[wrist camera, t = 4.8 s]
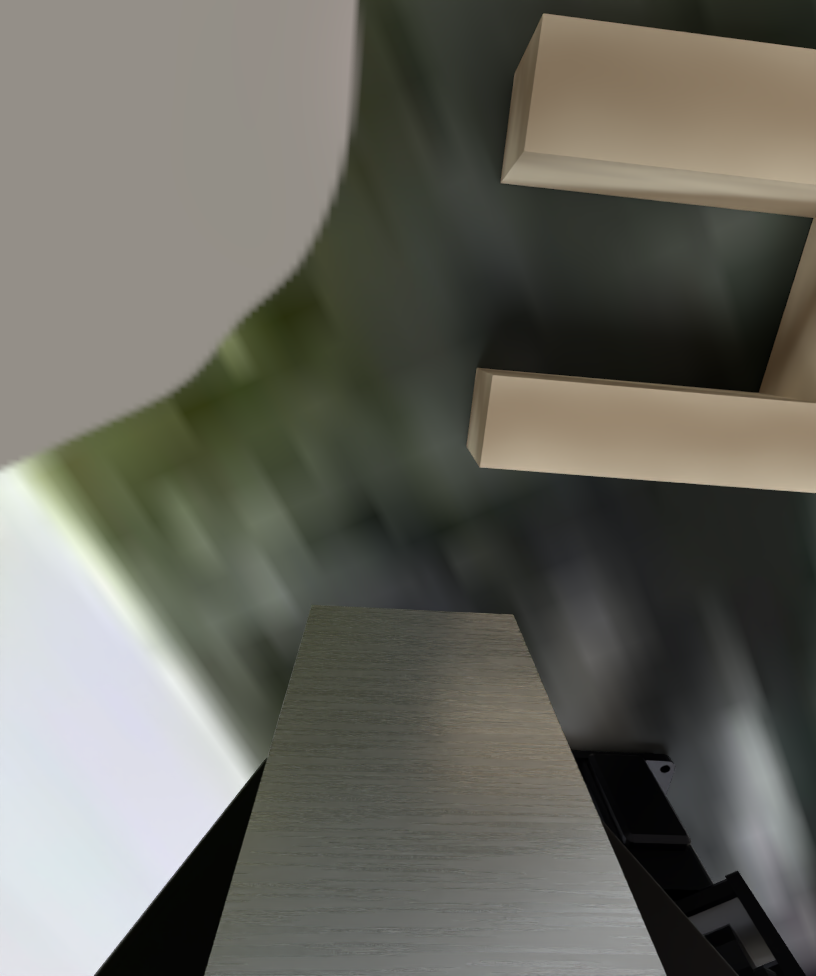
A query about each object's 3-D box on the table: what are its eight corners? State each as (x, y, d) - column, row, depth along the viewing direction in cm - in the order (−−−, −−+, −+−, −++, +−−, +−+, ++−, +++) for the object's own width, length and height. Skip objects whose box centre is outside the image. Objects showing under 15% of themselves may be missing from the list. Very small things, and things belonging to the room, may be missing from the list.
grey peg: (488, 767, 11) (712, 1801, 3) (309, 762, 11) (101, 1851, 3) (513, 614, 10) (977, 1709, 2) (311, 605, 9) (-32, 1791, 2)
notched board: (852, 476, 20) (929, 501, 17) (466, 446, 19) (480, 467, 16) (987, 132, 16) (1117, 89, 13) (514, 73, 15) (543, 13, 12)
